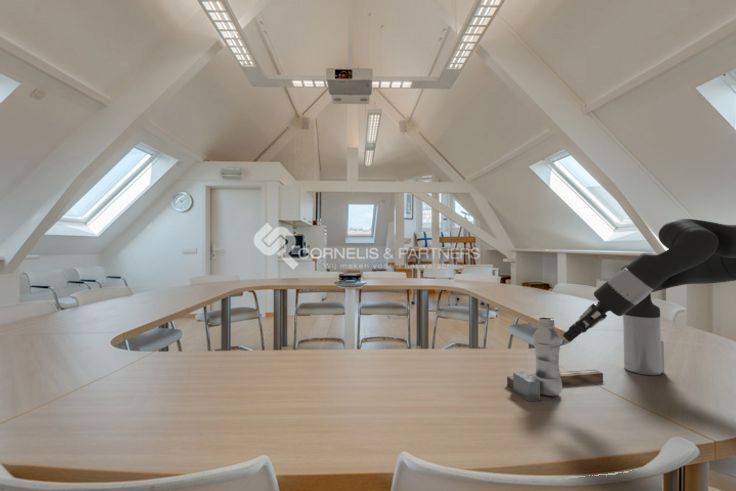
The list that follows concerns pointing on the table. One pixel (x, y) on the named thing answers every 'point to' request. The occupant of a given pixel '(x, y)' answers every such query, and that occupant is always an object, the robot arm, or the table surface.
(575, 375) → the walnut rail
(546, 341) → the plastic bottle
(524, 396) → the metal end stop
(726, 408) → the table surface
